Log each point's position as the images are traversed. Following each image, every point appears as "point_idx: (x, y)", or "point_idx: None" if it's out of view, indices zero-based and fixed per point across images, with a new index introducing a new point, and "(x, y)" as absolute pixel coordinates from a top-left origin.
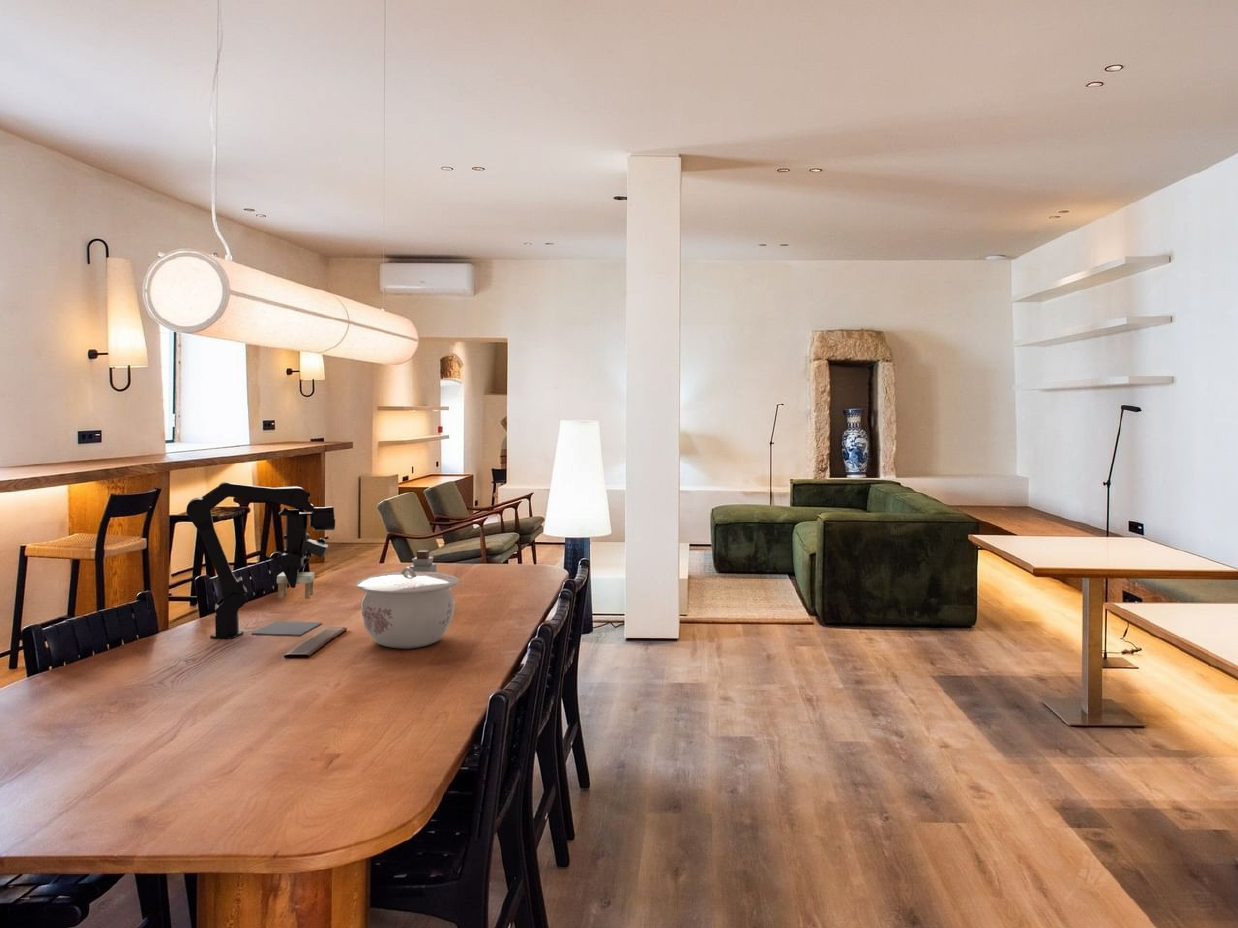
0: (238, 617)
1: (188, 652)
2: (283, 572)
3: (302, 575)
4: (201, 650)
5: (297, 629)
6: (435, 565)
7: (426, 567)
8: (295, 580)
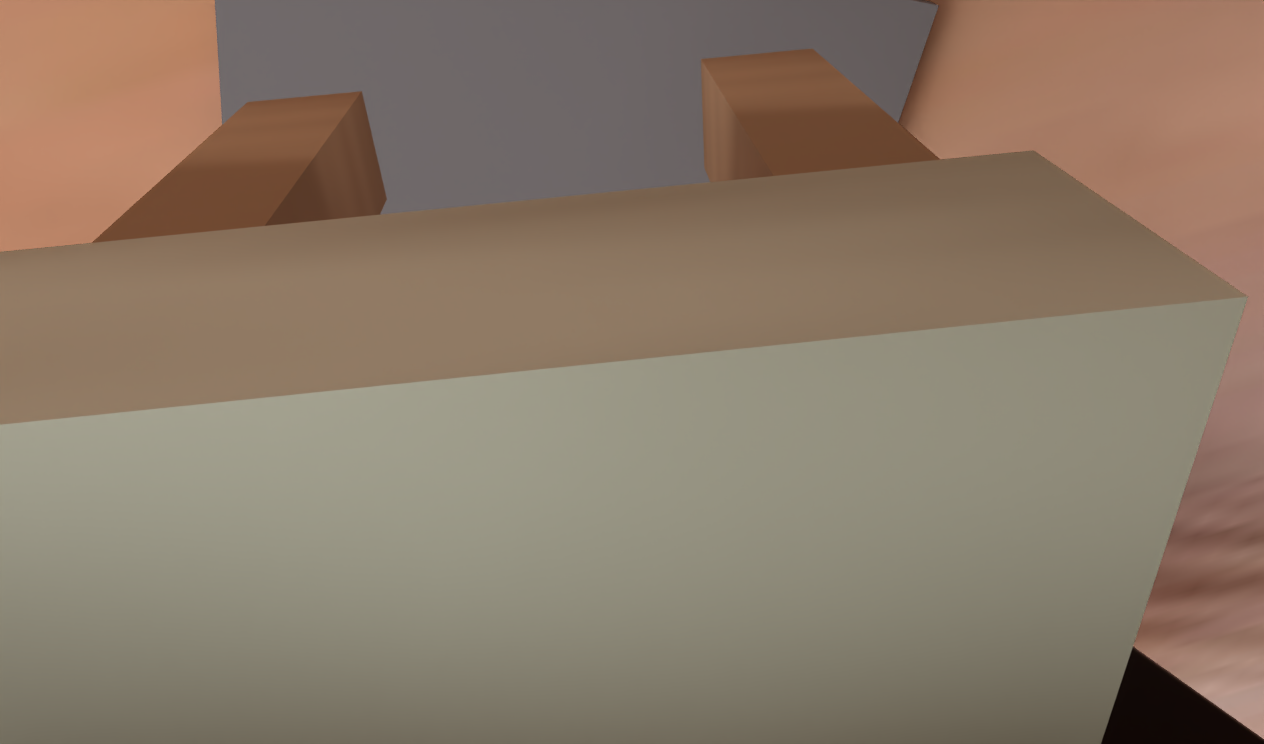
0: None
1: (1211, 691)
2: None
3: (954, 680)
4: (1190, 647)
5: (646, 124)
6: None
7: None
8: (1140, 667)
